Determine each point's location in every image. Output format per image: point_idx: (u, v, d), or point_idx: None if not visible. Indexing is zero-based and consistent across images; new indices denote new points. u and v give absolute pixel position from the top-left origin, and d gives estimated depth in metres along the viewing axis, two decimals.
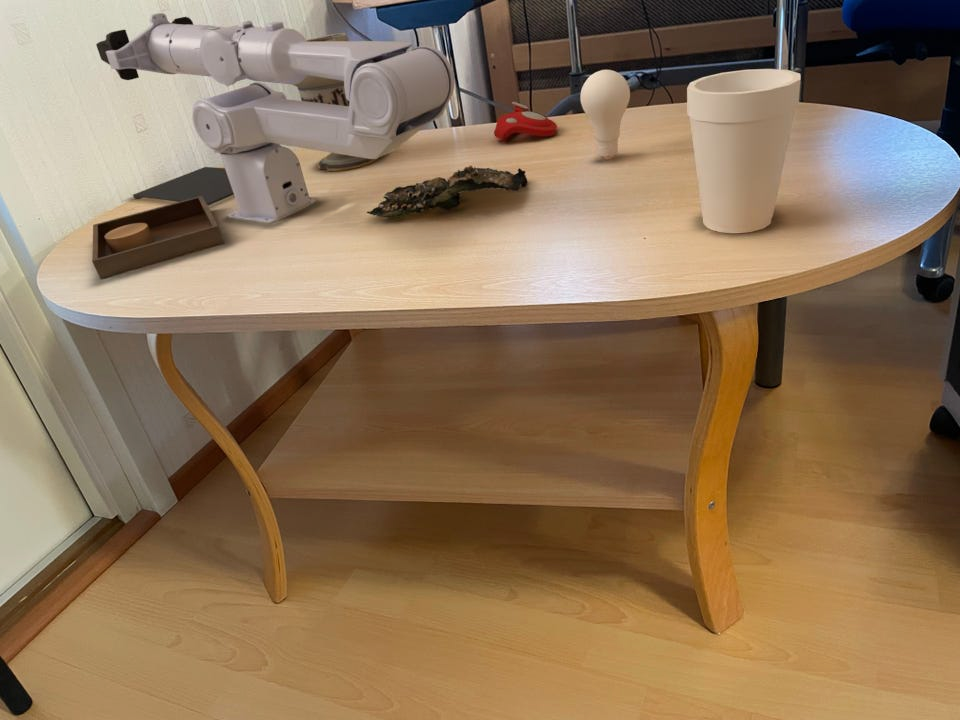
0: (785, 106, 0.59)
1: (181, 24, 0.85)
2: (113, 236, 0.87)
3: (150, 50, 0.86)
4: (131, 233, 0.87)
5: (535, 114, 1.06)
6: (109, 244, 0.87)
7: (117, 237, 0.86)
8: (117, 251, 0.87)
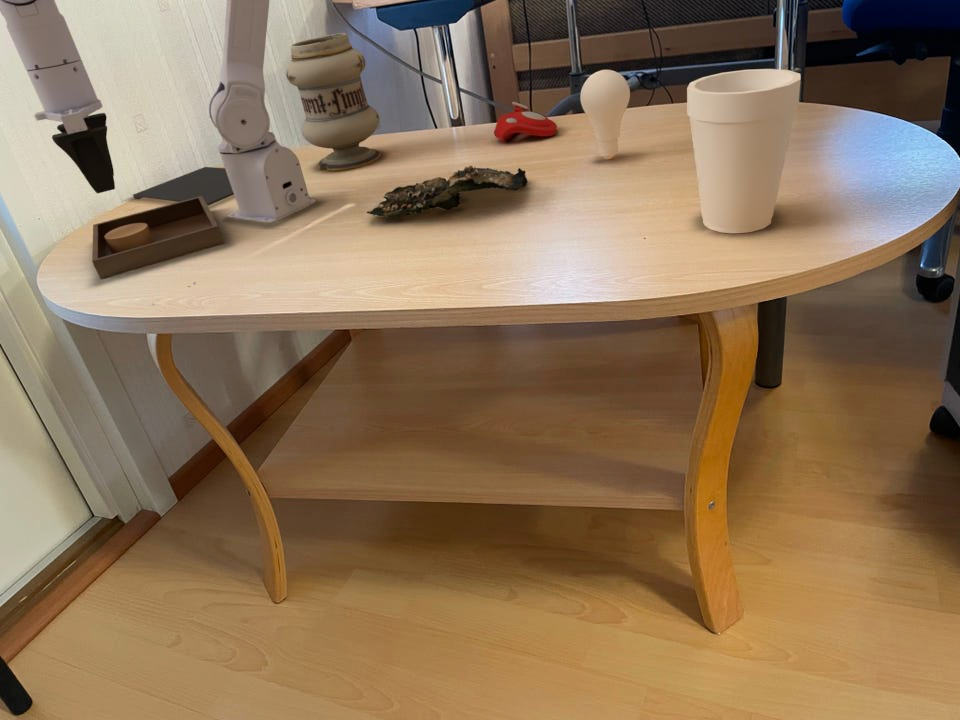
0: (786, 106, 0.59)
1: None
2: (113, 236, 0.87)
3: (65, 105, 0.78)
4: (131, 233, 0.87)
5: (535, 114, 1.06)
6: (109, 244, 0.87)
7: (117, 237, 0.86)
8: (117, 251, 0.87)
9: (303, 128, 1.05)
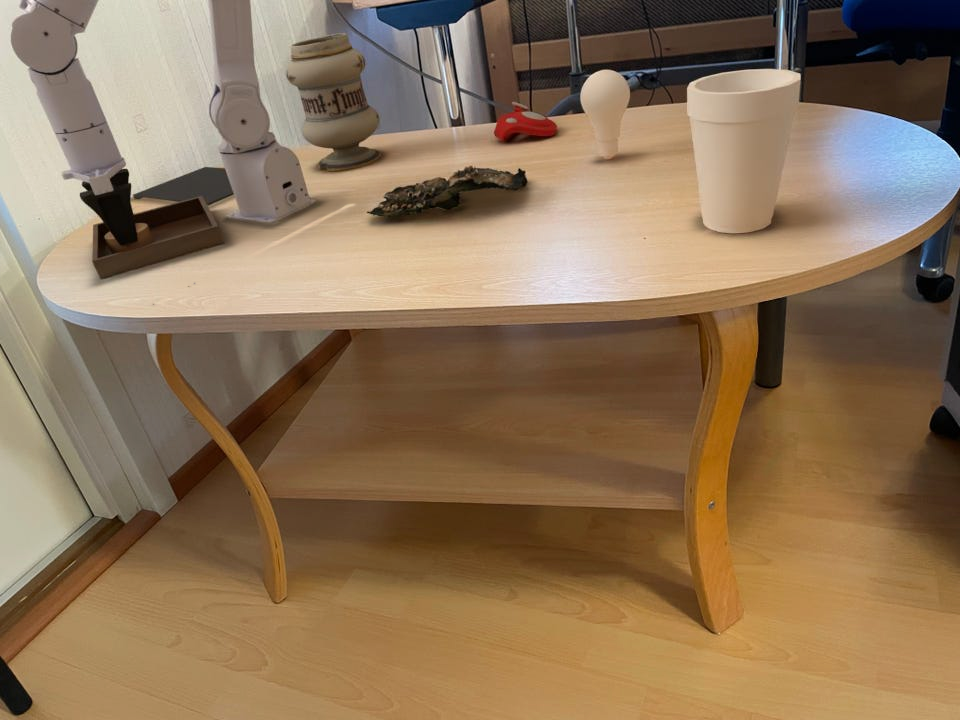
0: (785, 106, 0.59)
1: None
2: (113, 236, 0.87)
3: (92, 165, 0.81)
4: None
5: (535, 114, 1.06)
6: (109, 244, 0.87)
7: None
8: (117, 251, 0.87)
9: (303, 128, 1.05)
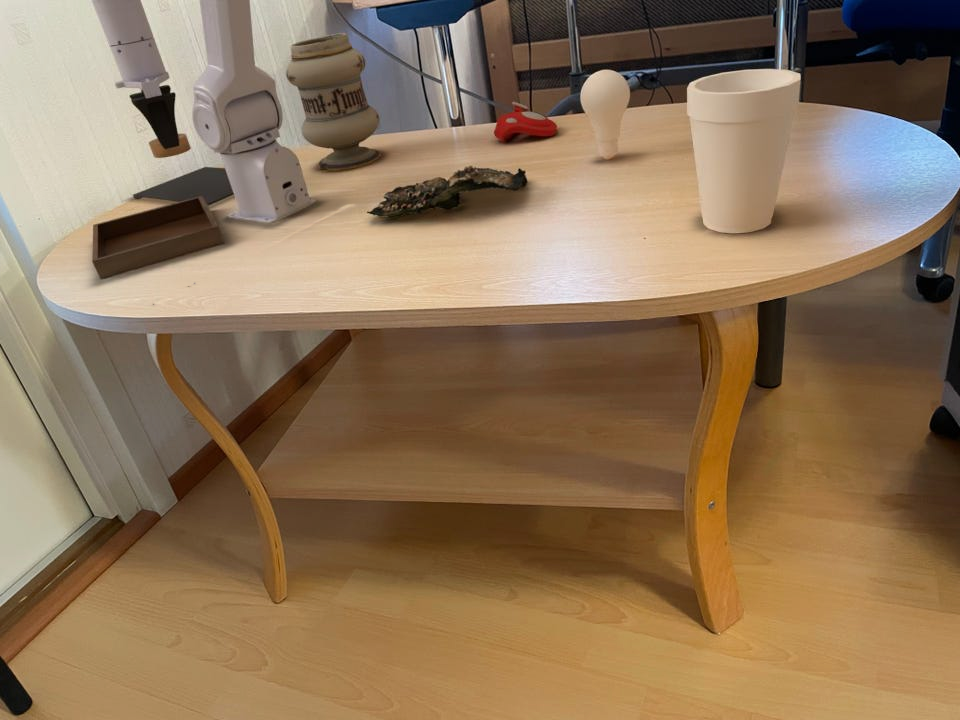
0: (786, 106, 0.59)
1: None
2: (157, 142, 0.99)
3: (142, 75, 0.93)
4: None
5: (535, 114, 1.06)
6: (153, 149, 0.99)
7: None
8: (160, 155, 0.99)
9: (303, 128, 1.05)
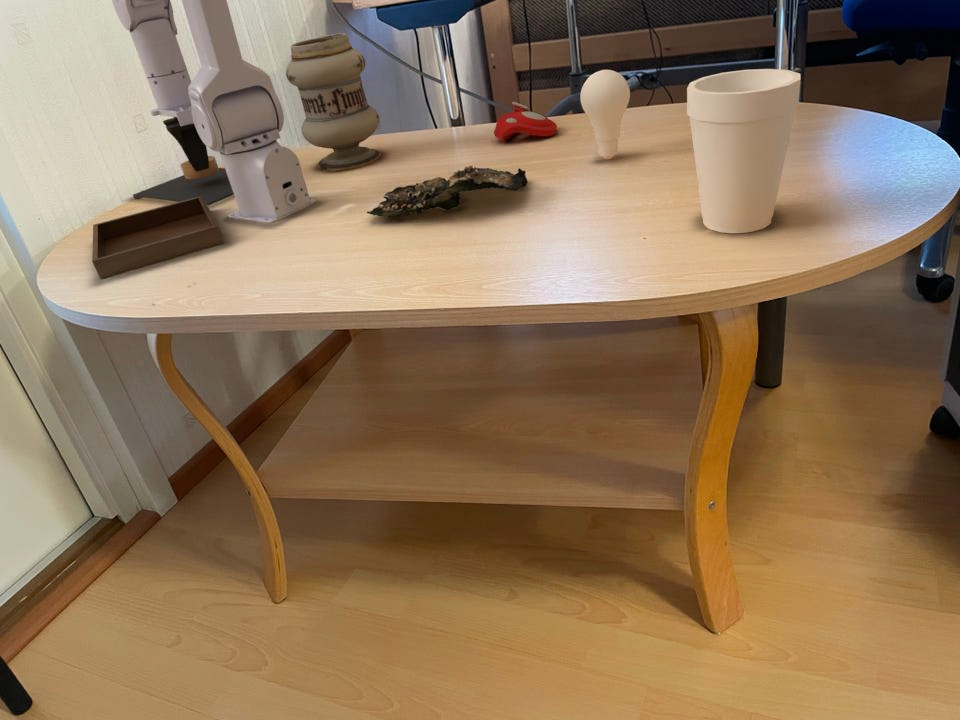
0: (785, 106, 0.59)
1: None
2: (188, 164, 1.07)
3: (176, 104, 1.01)
4: None
5: (535, 114, 1.06)
6: (185, 171, 1.07)
7: None
8: (191, 176, 1.07)
9: (303, 128, 1.05)
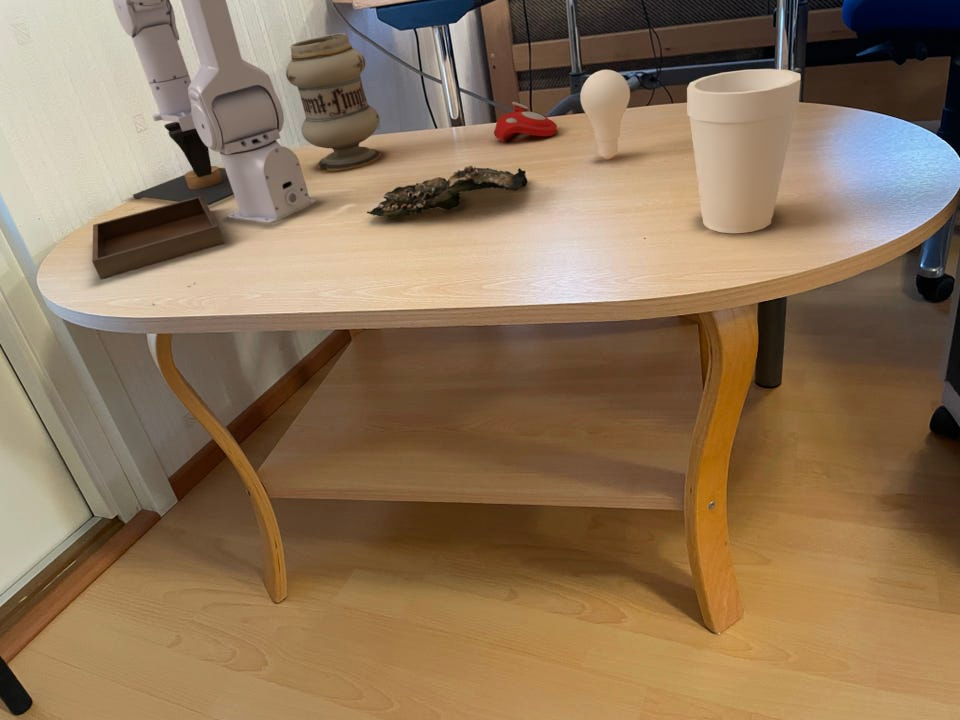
0: (785, 106, 0.59)
1: (150, 87, 1.01)
2: (192, 175, 1.07)
3: (178, 109, 1.01)
4: None
5: (535, 114, 1.06)
6: (188, 181, 1.08)
7: (195, 175, 1.07)
8: (195, 186, 1.08)
9: (303, 128, 1.05)
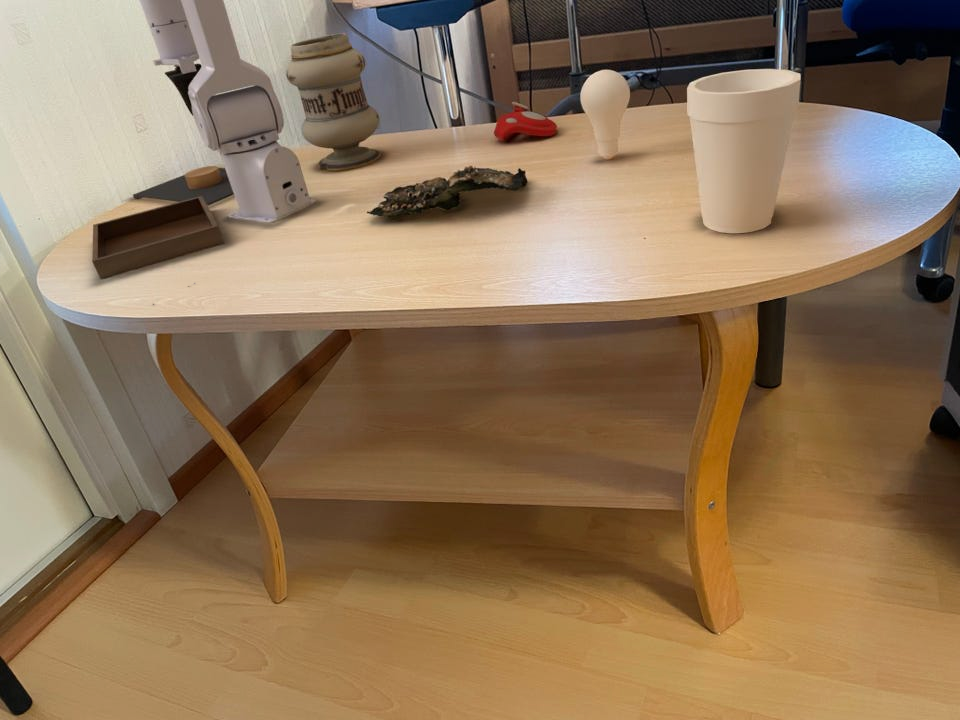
0: (785, 106, 0.59)
1: (151, 32, 1.03)
2: (192, 175, 1.07)
3: (178, 53, 1.03)
4: (206, 172, 1.07)
5: (535, 114, 1.06)
6: (188, 181, 1.08)
7: (195, 175, 1.07)
8: (195, 186, 1.08)
9: (303, 128, 1.05)
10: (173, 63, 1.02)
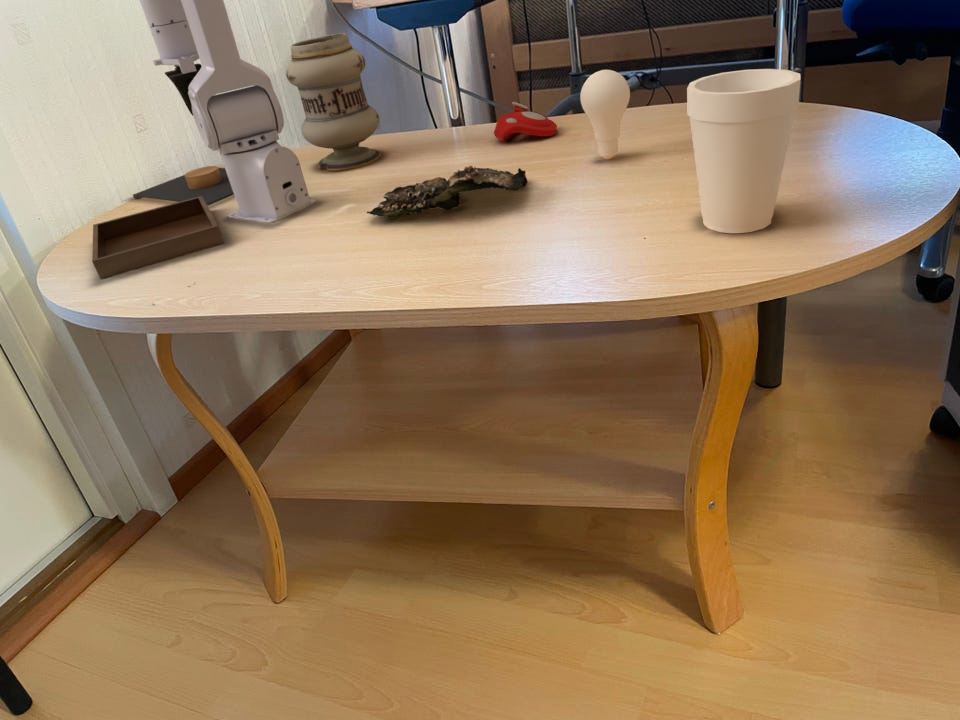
0: (785, 106, 0.59)
1: (151, 32, 1.03)
2: (192, 175, 1.07)
3: (178, 53, 1.03)
4: (206, 172, 1.07)
5: (535, 114, 1.06)
6: (188, 181, 1.08)
7: (195, 175, 1.07)
8: (195, 186, 1.08)
9: (303, 128, 1.05)
10: (173, 63, 1.02)
